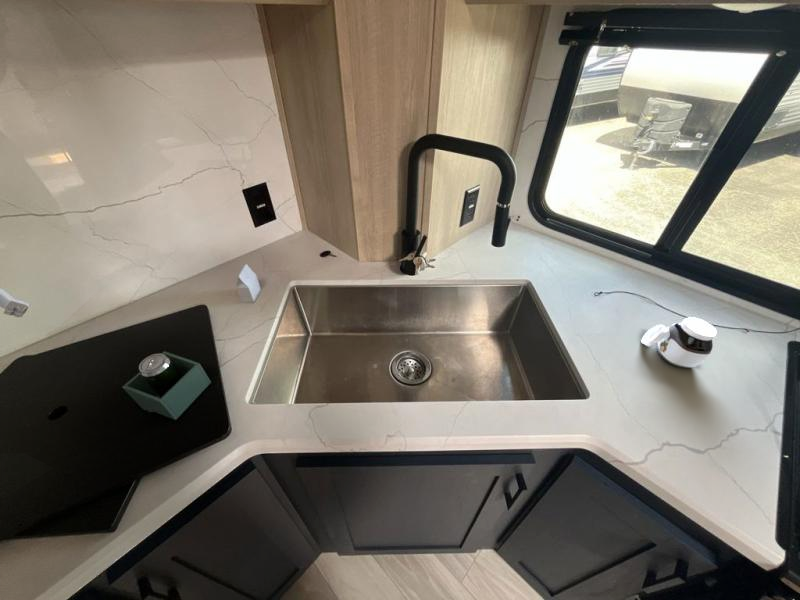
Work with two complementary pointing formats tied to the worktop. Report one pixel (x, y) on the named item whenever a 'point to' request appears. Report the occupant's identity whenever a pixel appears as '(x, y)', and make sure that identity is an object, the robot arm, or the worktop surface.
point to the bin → (177, 396)
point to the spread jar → (682, 341)
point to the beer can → (159, 373)
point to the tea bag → (247, 285)
